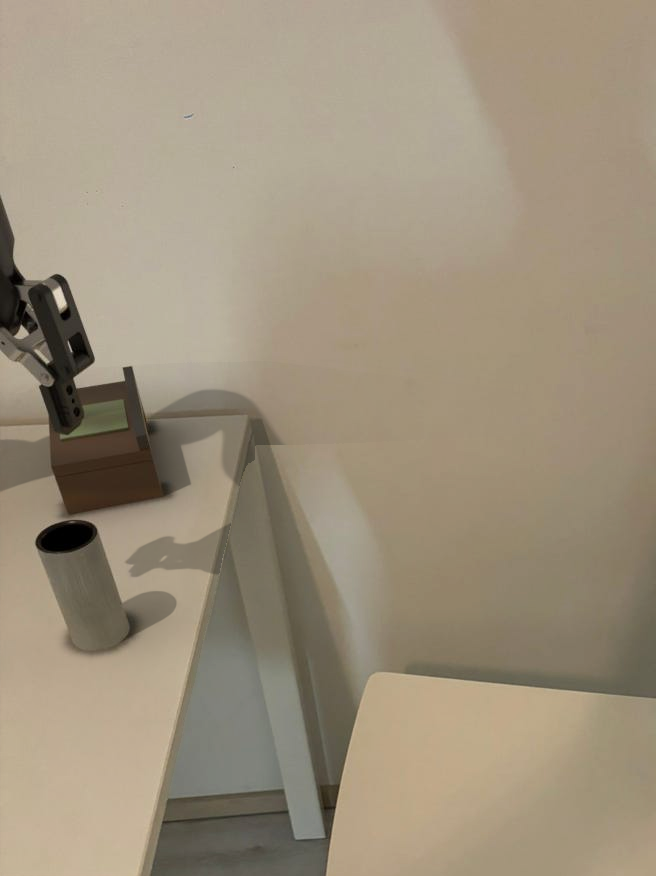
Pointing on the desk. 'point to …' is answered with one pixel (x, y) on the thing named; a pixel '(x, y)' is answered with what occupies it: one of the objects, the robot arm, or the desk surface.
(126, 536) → the desk surface
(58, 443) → the brown wooden box
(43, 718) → the desk surface
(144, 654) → the desk surface
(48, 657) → the desk surface
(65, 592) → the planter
